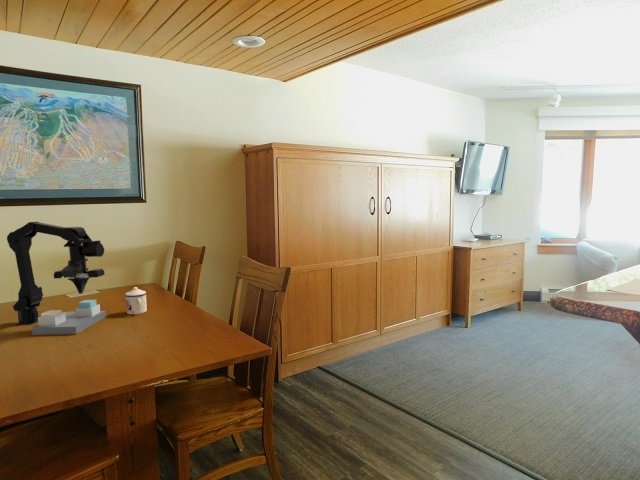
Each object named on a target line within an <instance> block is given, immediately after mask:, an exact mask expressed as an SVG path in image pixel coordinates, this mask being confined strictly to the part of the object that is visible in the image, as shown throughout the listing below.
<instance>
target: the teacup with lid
mask: <svg viewBox="0 0 640 480" xmlns="http://www.w3.org/2000/svg"><path fill="white" fill-rule="evenodd" d="M124 297H125V305H126V306H125V307H126V313H127V315H139V314H141V315H142V314H144V313H146V312H147V311H148V309H147V308H148V307H147V306H148V305H147V291H145V290H142V289H140V288H138V286H135V287H133V288H132V289H131V290H130V291H127V292H125V295H124Z"/></svg>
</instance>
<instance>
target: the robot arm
mask: <svg viewBox="0 0 640 480" xmlns="http://www.w3.org/2000/svg"><path fill="white" fill-rule="evenodd" d="M38 233H39V234H46V235H50V236H55V237H59V238H61V239H63V240H65V241H67V242H66V243H65V244H64V245H63V247H64V248H68V252H69V260H68V261H67V265H66V266H64V267H63V268H62V269H59V270H56V271H54V273H53V279H62V278H65V279H67V280H68V281H70V282H72V283H73V284H74V286H75V288H76V290H77V292H78V294H79V295H81V294H82V295H83V293H84V291H85V288H86V285H87V283H88V281H89V280H90V278H99V277H102V276H105V274H106V273H105V270H104V269H103V268H93V269H90V270H89V267H87V261H89V259H88V258H98V257H103V255H104V254H105V247H104V245H103V244H102V243H101V240H99V239H98V240H92V238H91V237H90V236H89V235H88V233H87V232H86V230H85V228H84V227H82V226H60V225H55V224H50V223H43V222H40V221H29V222H27V223H26V224H24V225H23V226H21V227H20V228H16V230H14V231H10V232H9V233H8V235H6V241H7V244H8V247H9V248H10V249H11V250H12V251H13V252H14V255H15V261H16V264H17V265H16V266H17V270H18V271H17V272H18V277H19V282H20V288H19V291H18V295H17V296H18V298H17V299H18V300H17V301H16V302H15V304H13V306H12V308H13V309H12V310H13V311H14V312H17V319H18V322H16V323H15V325H17V326H18V325H33V324H34V323H38V317H40V316H39V311H38V307H39V306H40V305H41V302H42V300H43V296H44V295H45V294H44V293H43V288H42V286H38V285H37V284H36V282H35V276H34V271H33V266H32V265H33V264H32V261H31V260H32V259H31V255H30V249H31V248H32V244H33V243H32V242H33V241H32V240H33V238H34V237H35V236H37V234H38Z"/></svg>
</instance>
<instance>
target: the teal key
mask: <svg viewBox="0 0 640 480" xmlns="http://www.w3.org/2000/svg"><path fill="white" fill-rule="evenodd" d="M77 305H78V307H79V308H92V307H94V306H96V305H97V299H83V300H82V301H79V302H77Z"/></svg>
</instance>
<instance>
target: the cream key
mask: <svg viewBox="0 0 640 480" xmlns="http://www.w3.org/2000/svg"><path fill="white" fill-rule="evenodd" d="M62 312H63V311H62V310H61V309H59V310H58V309H55V310H53V309H52V310H50V309H49V310H47V311H45V312H42V313H41V314H40V316H41V317H54V316H57V315H59V314H61V313H62Z"/></svg>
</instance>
